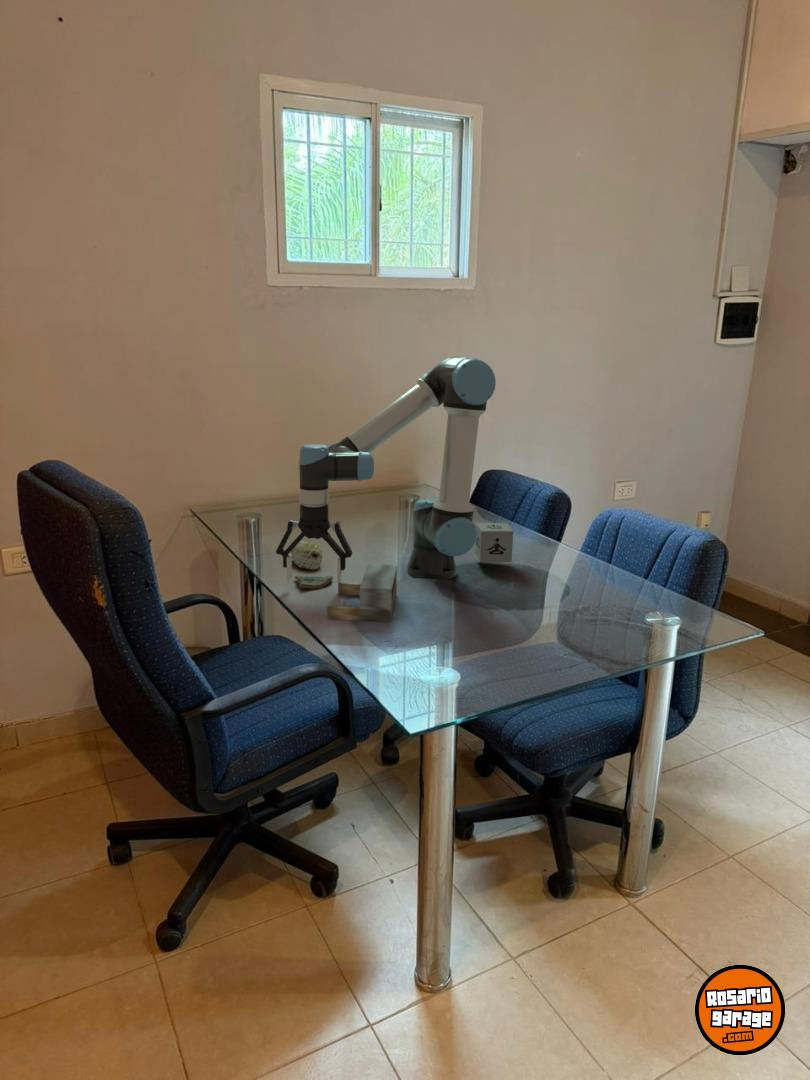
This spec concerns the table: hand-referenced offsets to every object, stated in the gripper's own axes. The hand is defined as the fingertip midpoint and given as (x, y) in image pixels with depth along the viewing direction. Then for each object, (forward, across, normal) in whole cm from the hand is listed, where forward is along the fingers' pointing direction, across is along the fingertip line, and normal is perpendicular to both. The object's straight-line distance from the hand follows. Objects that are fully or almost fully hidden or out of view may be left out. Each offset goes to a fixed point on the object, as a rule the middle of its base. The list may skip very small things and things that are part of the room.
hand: (314, 580), depth 203 cm
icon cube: (+3, -50, -39) cm, 64 cm away
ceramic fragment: (+3, 0, 0) cm, 3 cm away
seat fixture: (+3, -13, +10) cm, 17 cm away
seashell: (+4, +5, -21) cm, 22 cm away
